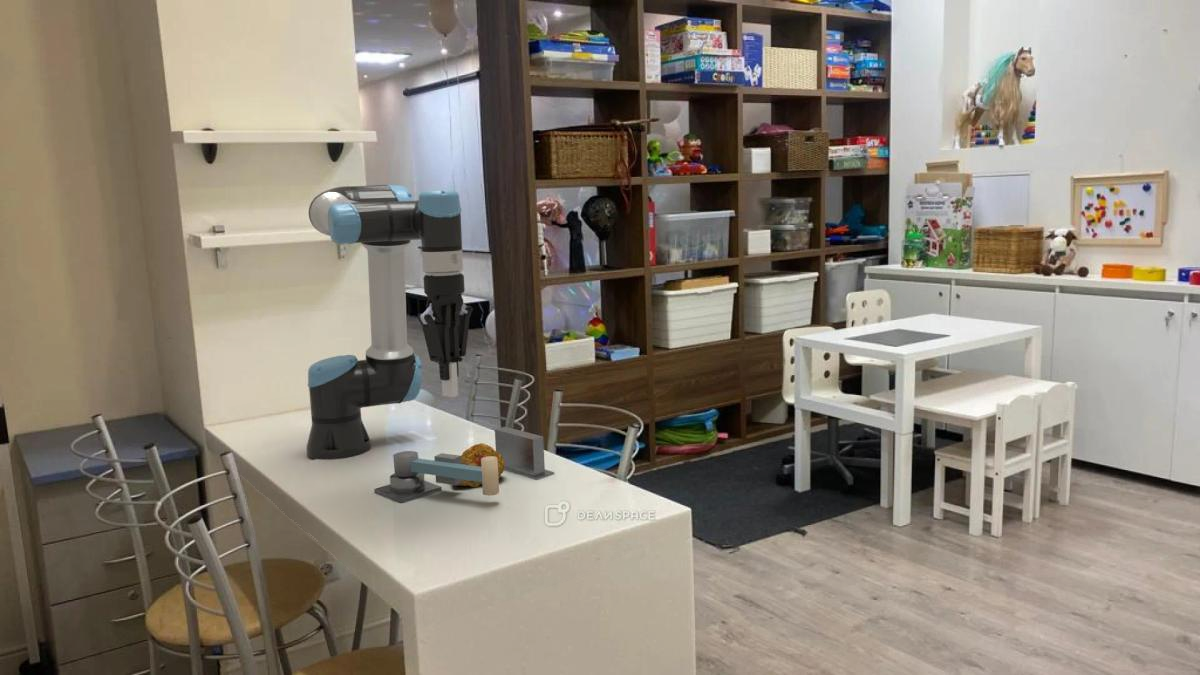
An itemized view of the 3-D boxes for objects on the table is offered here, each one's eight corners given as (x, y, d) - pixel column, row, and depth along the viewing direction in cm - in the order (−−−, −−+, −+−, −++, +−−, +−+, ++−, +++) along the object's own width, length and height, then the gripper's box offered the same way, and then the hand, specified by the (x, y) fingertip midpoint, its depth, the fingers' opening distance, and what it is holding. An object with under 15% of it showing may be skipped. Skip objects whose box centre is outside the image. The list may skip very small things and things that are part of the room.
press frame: (374, 492, 185) (371, 450, 184) (494, 457, 207) (492, 420, 206) (431, 516, 170) (428, 471, 169) (554, 475, 192) (552, 435, 191)
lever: (390, 482, 184) (387, 449, 182) (409, 473, 189) (406, 441, 188) (490, 498, 172) (488, 463, 171) (507, 488, 177) (506, 454, 176)
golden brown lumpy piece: (483, 506, 185) (444, 480, 183) (477, 501, 193) (439, 475, 191) (513, 462, 187) (475, 435, 185) (506, 458, 195) (469, 432, 193)
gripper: (433, 277, 159) (441, 405, 163) (481, 270, 169) (487, 390, 174) (403, 276, 163) (411, 400, 167) (452, 269, 173) (458, 386, 178)
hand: (450, 395), depth 170 cm, fingers closed
